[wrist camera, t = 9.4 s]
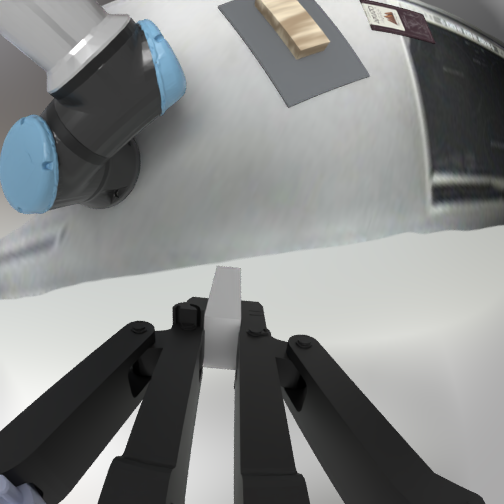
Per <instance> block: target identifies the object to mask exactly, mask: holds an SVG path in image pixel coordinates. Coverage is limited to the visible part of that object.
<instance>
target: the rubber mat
mask: <svg viewBox="0 0 504 504" xmlns="http://www.w3.org/2000/svg"><path fill="white" fill-rule="evenodd" d="M297 1H298V2H299V3H300V4H301V5H302V7H303V8H304V9H305V10H306V11H307V12H308V14H309V15H310V16H311V17H312V19H313V20H314V21H315V22H316V24H317V25H318V26H319V27H320V29H321V30H322V31H323V33H324V34H325V35H326V37H327V38H328V39H329V41H330V43H329V44H328V45H327V47H326V48H325V50H324V51H321V52H318V53H315V54H312V55H309V56H306V57H303V58H300V59H297V60H296V59H295V57H294V56H293V54H292V53H291V52H290V50H289V49H288V47H287V46H286V45H285V43H284V42H283V41H282V39H281V38H280V37H279V35H278V34H277V33H276V31H275V30H274V29H273V27H272V26H271V25H270V24H269V22H268V21H267V20H266V19H265V18H264V16H263V15H262V14H261V13H260V12H259V10H258V9H257V8H256V7H255V0H233V1H230V2H228V3H225V4H222V5H220V6H218V8H219V10H220V11H221V12H222V13H223V15H224V16H225V17H226V18H227V20H228V21H229V22H230V23H231V25H232V26H233V27H234V28H235V30H236V31H237V32H238V34H239V35H240V36H241V38H242V39H243V40H244V42H245V43H246V44H247V46H248V47H249V49H250V50H251V51H252V53H253V54H254V56H255V57H256V59H257V60H258V61H259V63H260V64H261V66H262V67H263V69H264V70H265V72H266V73H267V75H268V76H269V78H270V79H271V81H272V82H273V84H274V85H275V87H276V89H277V90H278V92H279V93H280V95H281V97H282V98H283V100H284V101H285V103H286V105H287V106H288V108H289V107H291V106H294V105H296V104H298V103H300V102H303V101H305V100H308V99H310V98H312V97H315V96H317V95H320V94H322V93H325V92H327V91H330V90H333V89H335V88H338V87H341V86H343V85H346V84H349V83H352V82H355V81H358V80H360V79H363V78H367V77H369V76H370V75H369V74H368V72H367V70H366V69H365V67H364V65H363V64H362V62H361V61H360V59H359V58H358V56H357V55H356V53H355V52H354V50H353V49H352V47H351V46H350V45H349V43H348V42H347V40H346V39H345V38H344V36H343V35H342V34H341V32H340V31H339V30H338V28H337V27H336V26H335V24H334V23H333V22H332V21H331V19H330V18H329V17H328V16H327V14H326V13H325V12H324V11H323V10H322V8H321V7H320V6H319V5H318V4H317V3H316V2H315V0H297Z"/></svg>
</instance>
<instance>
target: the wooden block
mask: <svg viewBox="0 0 504 504" xmlns="http://www.w3.org/2000/svg"><path fill="white" fill-rule="evenodd" d="M255 7H256V8H257V9H258V10H259V12H260V13H261V14H262V15H263V16H264V18H265V19H266V20H267V21H268V22H269V24H270V25H271V26H272V27H273V29H274V30H275V31H276V33H277V34H278V35H279V37H280V38H281V39H282V41H283V42H284V43H285V45H286V46H287V47H288V49H289V50H290V52H291V53H292V54H293V56H294V57H295V59H296V60H297V59H300V58H303V57H306V56H309V55H312V54H315V53H318V52H321V51H324V50H325V48H326V47H327V45H328V44H329V43H330V41H329V39H328V38H327V37H326V35H325V34H324V33H323V31H322V30H321V29H320V27H319V26H318V25H317V24H316V22H315V21H314V20H313V19H312V17H311V16H310V15H309V14H308V12H307V11H306V10H305V9H304V8H303V7H302V5H301V4H300V3H299V2H298V1H297V0H255Z"/></svg>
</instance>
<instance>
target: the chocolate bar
mask: <svg viewBox="0 0 504 504" xmlns="http://www.w3.org/2000/svg"><path fill="white" fill-rule="evenodd" d="M360 2H361V5H362V7H363V9H364V12H365V14H366V16H367V19H368V21H369V24H370V26H371V29H372V30H376V31H381V32H387V33H392V34H397V35H402V36H406V37H410V38H414V39H418V40H422V41H426V42H429V43H433V44H435V41H434V39H433V36H432V34H431V32H430V29H429V27H428V25H427V22H426V20H425V18H424V16H423V14H420V13H417V12H414V11H410V10H407V9H403V8H400V7H396V6H392V5H388V4H383V3H379V2H374V1H369V0H360Z"/></svg>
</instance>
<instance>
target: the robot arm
mask: <svg viewBox="0 0 504 504" xmlns="http://www.w3.org/2000/svg"><path fill="white" fill-rule="evenodd" d="M0 34H1V35H2V36H3V37H4V38H5V39H7V40H8V41H9V42H10V43H12V44H13V45H14V46H15V47H17V48H18V49H19V50H20V51H22V52H23V53H24V54H25V55H26V56H28V57H29V58H30V59H32V61H34V62H35V63H36V64H37V65H39V66H40V67H41V68H42V69H43V70H45V71H46V74H47V92H48V93H49V94H50V95H52V96H53V97H54V99H53V101H52V102H51V103H50V104H49V105H48V106H47V108H46V109H45V110H44V111H43V112H42V114H41V115H40V116H38V115H30V116H27V117H24V118H21V119H20V120H18V121H17V122H16V123H15V124H14V125H13V126H12V128H11V129H10V131H9V132H8V134H7V136H6V138H5V141H4V144H3V147H2V151H1V157H0V180H1V185H2V189H3V192H4V195H5V197H6V199H7V200H8V202H9V203H10V205H11V206H12V207H13V208H14V209H15V210H17V211H18V212H20V213H24V214H34V213H39V214H41V213H45V212H46V211H48V210H52V209H56V208H61V207H65V206H69V205H73V204H78V203H79V204H82V205H84V206H86V207H89V208H93V209H102V208H107V207H111V206H114V205H116V204H118V203H119V202H121V201H122V200H124V199H125V198H126V197H127V196H128V194H129V193H130V192H131V191H132V189H133V187H134V185H135V183H136V181H137V178H138V175H139V170H140V154H139V150H138V147H137V144H136V142H135V141H134V139H133V137H134V136H135V135H137V134H138V133H139V132H140V131H141V130H142V129H143V128H145V127H146V126H147V125H148V124H149V123H151V122H152V121H153V120H154V119H155V118H157V117H158V116H162V115H163V114H164V113H165V111H166V110H167V109H168V108H169V107H170V106H171V105H173V104H174V103H175V102H176V101H178V100H179V99H180V98H181V97H182V96H183V95H184V93H185V90H186V79H185V76H184V73H183V70H182V68H181V66H180V64H179V62H178V60H177V58H176V56H175V54H174V52H173V50H172V48H171V47H170V45H169V44H168V42H167V41H166V40H165V39H164V37H163V35H162V34H161V32H160V30H159V29H158V28H157V26H156V25H155V24H154V23H153V22H152V21H150V20H148V19H144V20H140V21H138V22H137V23H135V22H134V21H133V20H132V18H131V17H130V16H129V15H127V14H114V15H112V14H108V13H107V12H106V11H105V10H104V9H103V8H102V7H101V6H100V5H99V4H98V2H97V1H96V0H0ZM203 367H209V368H219V369H231V370H236V373H235V383H234V389H235V411H234V413H235V414H234V421H235V422H234V504H310V501H309V496H308V492H307V487H306V482H305V479H304V477H303V475H302V474H299V473H297V471H296V468H295V462H294V457H293V451H292V446H291V440H290V435H289V429H288V424H287V419H286V413H285V407H284V402H283V399H284V401H285V403H286V404H287V406H288V408H289V410H290V412H291V413H292V415H293V417H294V419H295V421H296V422H297V424H298V426H299V428H300V429H301V431H302V433H303V435H304V437H305V438H306V440H307V442H308V443H309V445H310V447H311V449H312V450H313V452H314V454H315V456H316V457H317V459H318V461H319V462H320V464H321V466H322V467H323V469H324V471H325V472H326V474H327V476H328V477H329V479H330V481H331V482H332V484H333V485H334V487H335V489H336V490H337V492H338V493H339V495H340V497H341V498H342V500H343V501H344V503H345V504H485V502H484V500H483V498H482V497H480V496H479V495H478V494H476V493H474V492H471V491H469V490H467V489H465V488H463V487H461V486H459V485H457V484H455V483H453V482H451V481H449V480H447V479H445V478H443V477H441V476H439V475H437V474H435V473H434V472H433V471H432V470H431V469H430V468H429V467H428V466H427V464H426V463H425V462H424V461H423V460H422V459H421V458H420V457H419V455H418V454H417V453H416V452H415V451H414V450H413V449H412V448H411V447H410V446H409V445H408V443H407V442H406V441H405V440H404V439H403V438H402V436H401V435H400V434H399V433H398V432H397V431H396V430H395V429H394V428H393V427H392V425H391V424H390V423H389V422H388V421H387V420H386V419H385V417H384V416H383V415H382V414H381V413H380V412H379V411H378V410H377V408H376V407H375V406H374V405H373V404H372V403H371V402H370V401H369V399H368V398H367V397H366V396H365V395H364V394H363V393H362V391H361V390H360V389H359V388H358V387H357V386H356V385H355V383H354V382H353V381H352V380H351V379H350V378H349V377H348V376H347V374H346V373H345V372H344V371H343V370H342V369H341V368H340V366H339V365H338V364H337V363H336V362H335V361H334V359H333V358H332V357H331V356H330V355H329V354H328V353H327V351H326V350H325V349H324V348H323V347H322V346H321V345H320V343H319V342H318V341H317V340H315V339H314V338H312V337H310V336H307V335H294V336H292V337H290V338H289V340H288V342H285V341H281V340H277V339H275V338H273V337H272V336H271V333H270V331H269V330H268V329H267V328H266V322H265V317H264V311H263V306H262V305H261V304H260V303H259V302H252V301H241V268H233V267H222V266H217V268H216V272H215V276H214V280H213V284H212V288H211V292H210V295H209V298H200V297H192V298H190V299H189V300H188V301H187V302H183V303H178V304H176V305H175V306H173V325H172V328H171V329H169V330H164V331H155V329H154V326H153V325H152V324H150V323H148V322H145V321H135V322H131V323H129V324H127V325H126V326H124V327H123V328H122V329H121V330H119V331H118V332H117V333H116V334H115V335H113V336H112V337H111V338H110V339H108V340H107V341H106V342H105V343H103V344H102V345H101V346H100V347H99V348H97V349H96V350H95V351H94V352H92V353H91V354H90V355H89V356H88V357H86V358H85V359H84V360H83V361H82V362H80V363H79V364H78V365H77V366H76V367H74V368H73V369H72V370H71V371H70V372H68V373H67V374H66V375H65V376H64V377H62V378H61V379H60V380H59V381H58V382H56V383H55V384H54V385H53V386H52V387H51V388H49V389H48V390H47V391H46V392H45V393H44V394H42V395H41V396H40V397H39V398H38V399H37V400H35V401H34V402H33V403H32V404H31V405H30V406H28V407H27V408H26V409H25V410H24V411H23V412H22V413H20V414H19V415H18V416H17V417H16V418H15V419H14V420H13V421H11V422H10V423H9V424H8V425H7V426H6V427H5V428H4V429H2V430H1V431H0V504H58V503H59V502H61V501H62V500H63V499H64V498H65V497H66V496H67V495H68V494H69V492H70V491H71V490H72V489H73V488H74V486H75V485H76V484H77V483H78V481H79V480H80V479H81V477H82V476H83V475H84V474H85V472H86V471H87V470H88V469H89V467H90V466H91V465H92V463H93V462H94V461H95V460H96V459H97V457H98V456H99V454H100V453H101V452H102V451H103V450H104V448H105V447H106V446H107V444H108V443H109V442H110V441H111V439H112V438H113V437H114V435H115V434H116V433H117V432H118V430H119V429H120V428H121V427H122V425H123V424H124V423H125V421H126V420H127V419H128V418H129V416H130V415H131V414H132V412H133V411H134V410H135V409H136V407H137V406H138V405H139V403H140V402H141V401H142V400H143V401H142V403H141V406H140V409H139V411H138V414H137V417H136V420H135V422H134V425H133V428H132V431H131V434H130V437H129V439H128V443H127V445H126V448H125V451H124V453H123V455H122V456H117V457H115V458H114V459H113V461H112V463H111V465H110V468H109V470H108V474H107V476H106V479H105V482H104V485H103V488H102V492H101V494H100V498H99V501H98V504H185V493H186V485H187V477H188V476H187V475H188V468H189V461H190V454H191V446H192V439H193V432H194V426H195V419H196V412H197V405H198V399H199V393H200V386H201V380H202V374H203V370H202V369H203Z"/></svg>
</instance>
